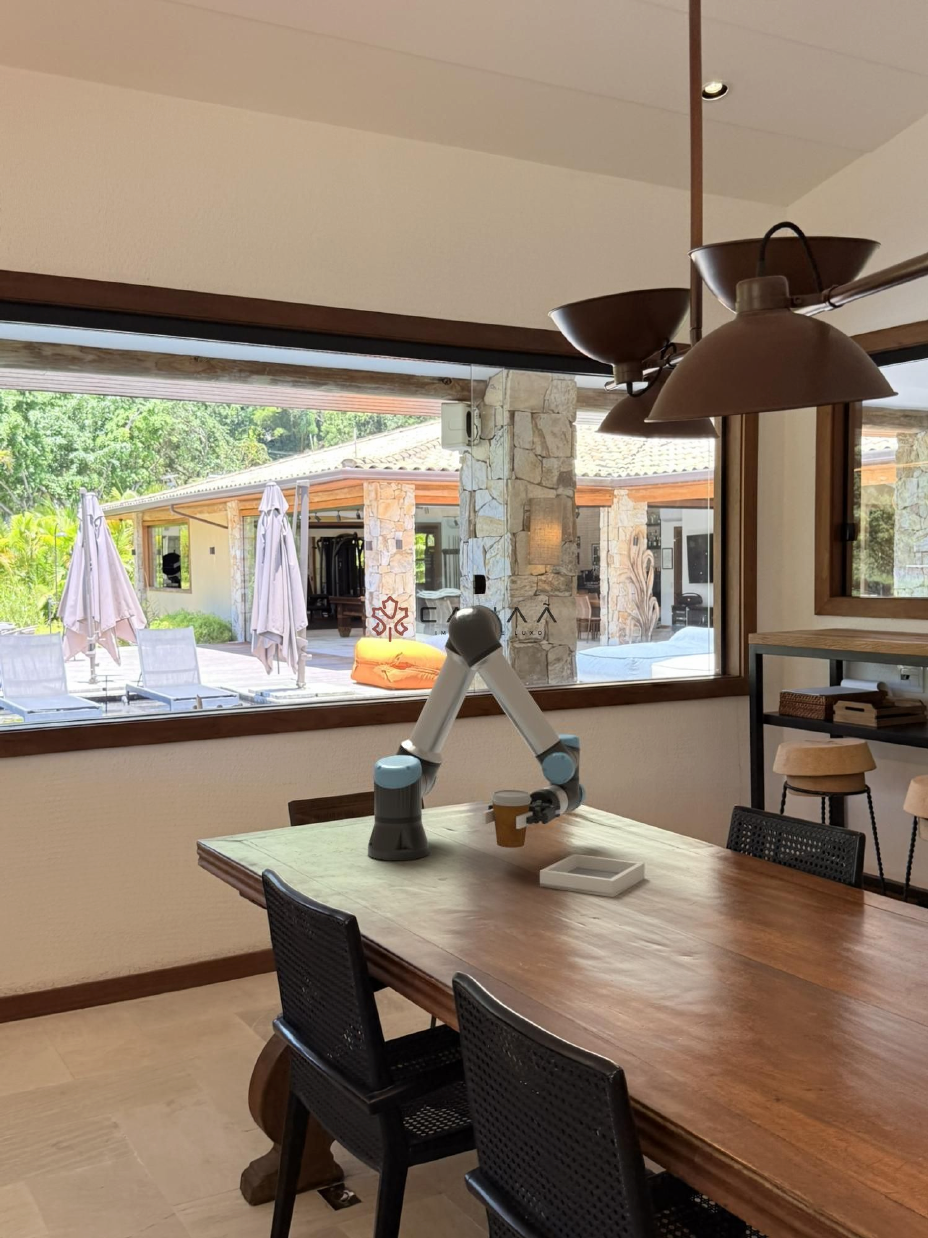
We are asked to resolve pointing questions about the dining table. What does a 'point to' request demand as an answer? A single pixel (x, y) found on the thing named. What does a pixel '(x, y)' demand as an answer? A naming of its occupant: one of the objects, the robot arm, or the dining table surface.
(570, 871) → the square well
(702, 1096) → the dining table surface
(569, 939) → the dining table surface
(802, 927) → the dining table surface
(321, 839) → the dining table surface
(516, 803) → the disposable coffee cup
